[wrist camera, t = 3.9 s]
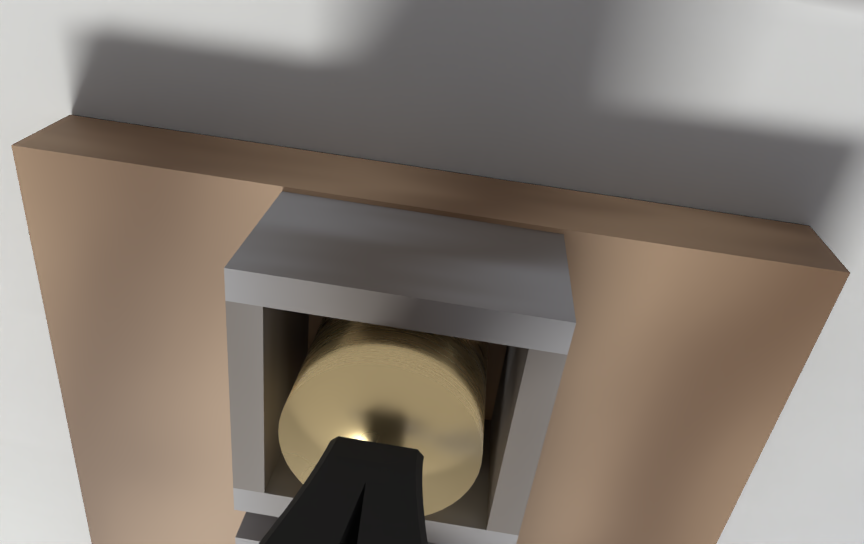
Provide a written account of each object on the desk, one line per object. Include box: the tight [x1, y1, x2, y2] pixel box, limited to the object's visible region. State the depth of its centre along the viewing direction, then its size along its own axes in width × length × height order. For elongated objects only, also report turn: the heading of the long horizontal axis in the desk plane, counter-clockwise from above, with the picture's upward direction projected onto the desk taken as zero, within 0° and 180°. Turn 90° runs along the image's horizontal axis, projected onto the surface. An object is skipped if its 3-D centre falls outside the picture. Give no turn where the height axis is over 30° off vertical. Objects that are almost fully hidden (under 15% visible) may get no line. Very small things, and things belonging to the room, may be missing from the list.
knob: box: [278, 316, 489, 516], centre depth 13 cm, size 3×3×3 cm
